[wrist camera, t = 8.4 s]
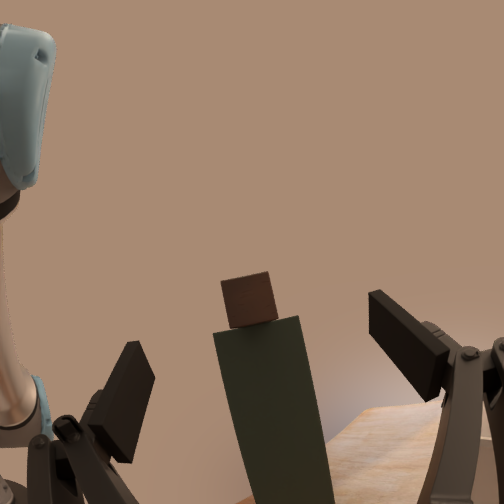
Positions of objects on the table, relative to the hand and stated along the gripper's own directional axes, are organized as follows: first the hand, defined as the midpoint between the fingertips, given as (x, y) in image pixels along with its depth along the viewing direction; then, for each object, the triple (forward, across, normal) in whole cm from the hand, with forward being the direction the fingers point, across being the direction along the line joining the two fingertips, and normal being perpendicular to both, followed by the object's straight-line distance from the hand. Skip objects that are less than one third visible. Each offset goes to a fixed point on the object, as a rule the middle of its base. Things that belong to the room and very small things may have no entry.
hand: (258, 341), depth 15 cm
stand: (+1, 0, -30) cm, 30 cm away
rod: (+12, 0, -6) cm, 13 cm away
